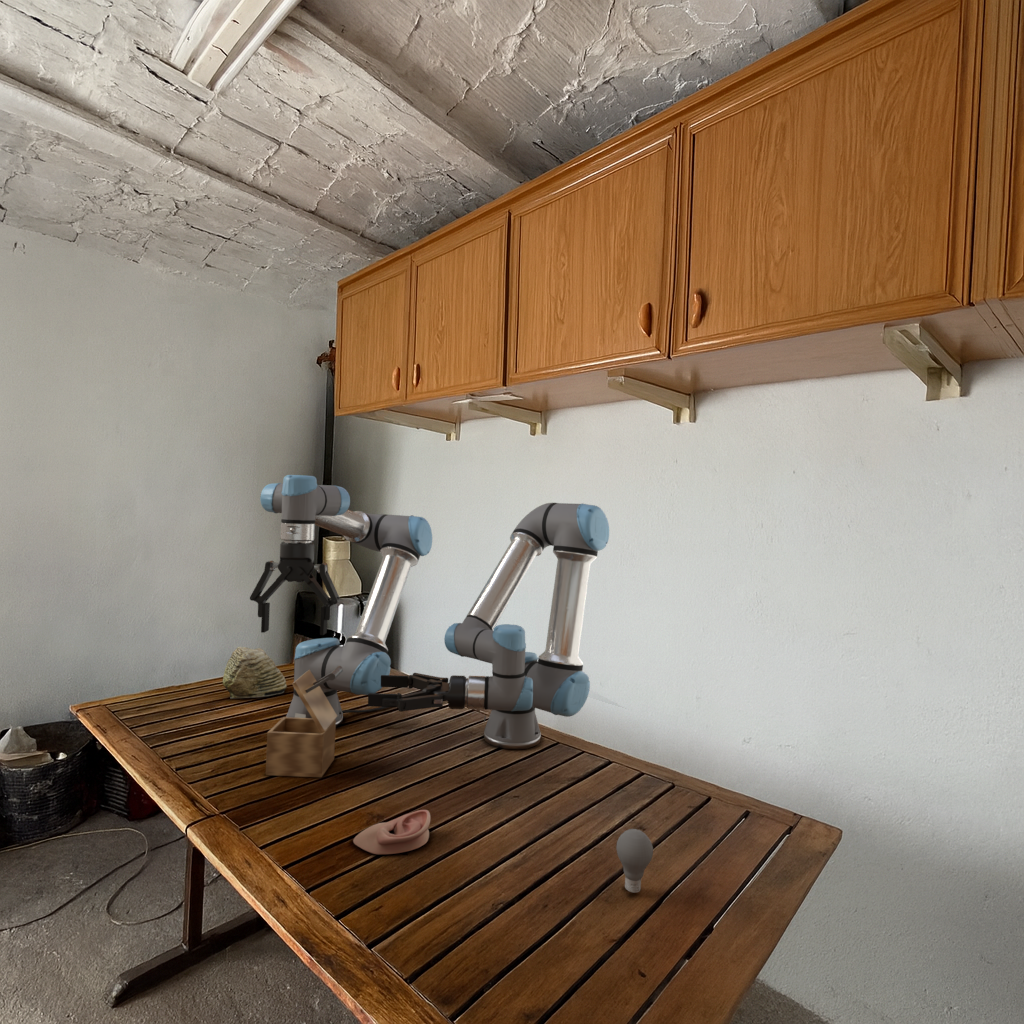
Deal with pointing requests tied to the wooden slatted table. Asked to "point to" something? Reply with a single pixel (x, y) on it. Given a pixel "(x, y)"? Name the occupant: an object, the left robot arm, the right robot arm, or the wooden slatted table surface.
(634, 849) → the light bulb
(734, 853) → the wooden slatted table surface
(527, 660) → the right robot arm
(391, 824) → the anatomical model
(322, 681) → the lid
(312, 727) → the chest
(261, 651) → the fossil
